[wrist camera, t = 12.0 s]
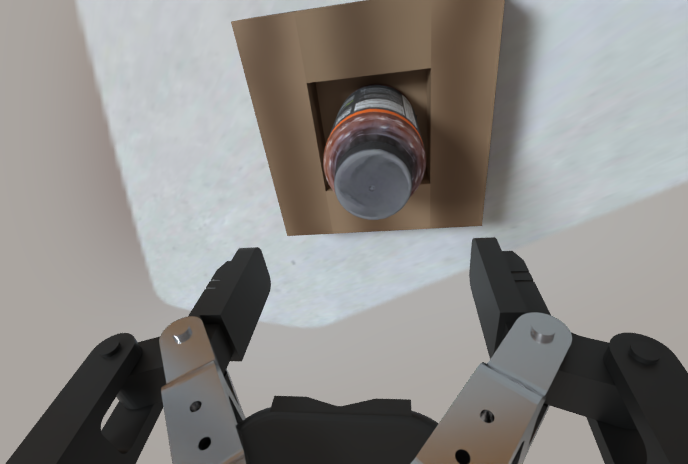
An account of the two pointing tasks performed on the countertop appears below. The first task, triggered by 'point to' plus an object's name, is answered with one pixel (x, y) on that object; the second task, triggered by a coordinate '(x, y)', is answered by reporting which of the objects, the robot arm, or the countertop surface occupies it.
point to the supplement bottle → (375, 152)
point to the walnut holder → (376, 68)
